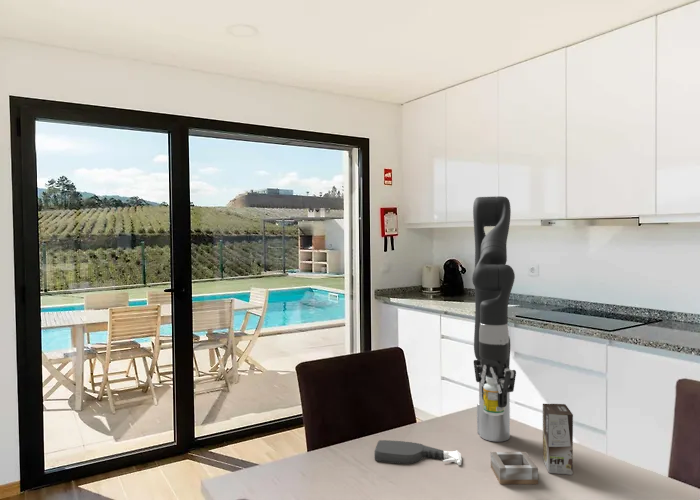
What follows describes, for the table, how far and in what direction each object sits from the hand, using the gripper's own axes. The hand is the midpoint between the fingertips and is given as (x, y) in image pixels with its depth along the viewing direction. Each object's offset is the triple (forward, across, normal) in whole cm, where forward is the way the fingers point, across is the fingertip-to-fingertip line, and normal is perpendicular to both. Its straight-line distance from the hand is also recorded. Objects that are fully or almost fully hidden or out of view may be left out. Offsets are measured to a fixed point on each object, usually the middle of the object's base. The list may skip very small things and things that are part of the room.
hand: (494, 403), depth 136 cm
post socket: (+19, +3, +4) cm, 20 cm away
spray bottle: (+20, -18, -12) cm, 30 cm away
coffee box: (+20, +5, +18) cm, 27 cm away
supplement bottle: (+3, 0, 0) cm, 3 cm away
